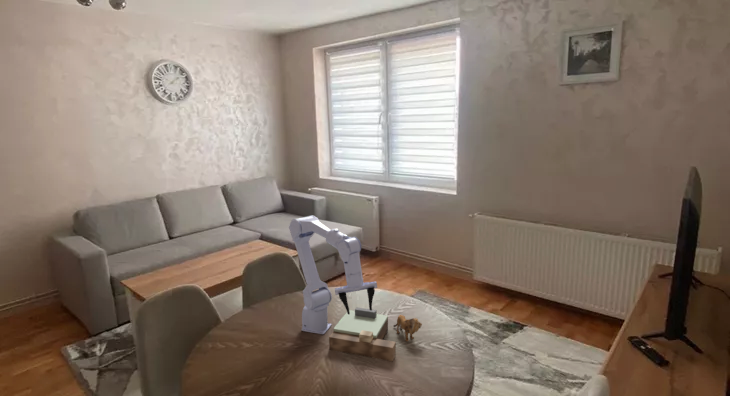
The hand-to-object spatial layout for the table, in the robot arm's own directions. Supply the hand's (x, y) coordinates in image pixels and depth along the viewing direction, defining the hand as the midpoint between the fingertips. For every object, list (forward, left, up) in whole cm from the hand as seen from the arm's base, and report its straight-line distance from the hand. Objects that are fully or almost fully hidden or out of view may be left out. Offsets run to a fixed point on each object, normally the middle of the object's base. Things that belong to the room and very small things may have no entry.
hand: (359, 311), depth 144 cm
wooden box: (+1, +7, -15) cm, 16 cm away
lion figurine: (+13, +15, -15) cm, 25 cm away
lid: (-2, +9, -10) cm, 13 cm away
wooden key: (+3, -1, -10) cm, 10 cm away
